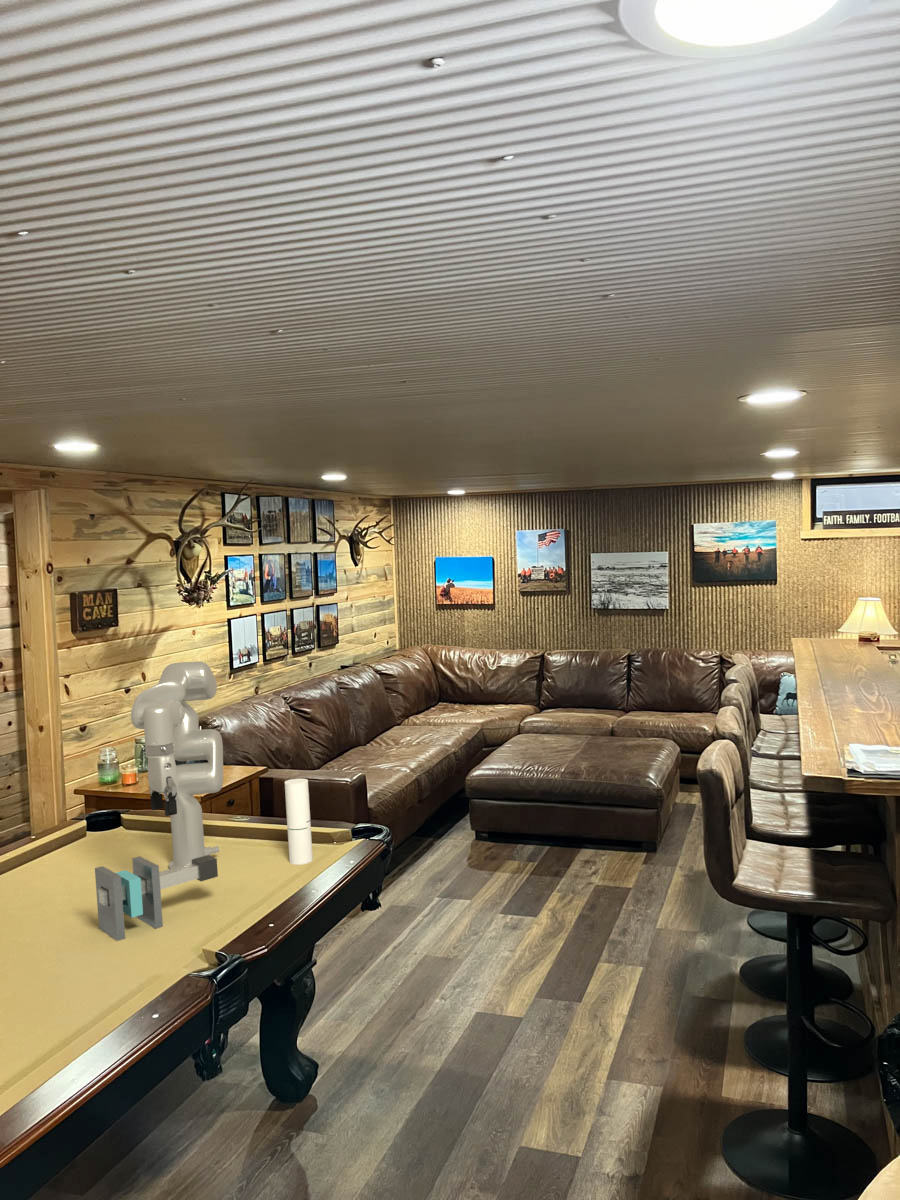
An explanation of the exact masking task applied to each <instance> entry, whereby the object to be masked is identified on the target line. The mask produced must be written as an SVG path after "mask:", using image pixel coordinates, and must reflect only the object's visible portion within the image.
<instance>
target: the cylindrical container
mask: <svg viewBox="0 0 900 1200" xmlns="http://www.w3.org/2000/svg"><path fill="white" fill-rule="evenodd" d="M284 792H285V795H284V796H285V797H284V798H285V810H286V824H287V825H286V826H287V840H288V841H287V842H288V858H289V859H288V860H289V863H290V864H291V865H294V866H295V865H297V866H298V865H300V866H301V865H306V864H309V863H311V862H313V857H314V856H313V844H312V842H313V840H312V828H311V827H312V826H311V825H312V824H311V810H310V792H309V780H308V779H307V778H292V779H288V780H285V781H284Z"/></svg>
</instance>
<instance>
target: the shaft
mask: <svg viewBox="0 0 900 1200" xmlns="http://www.w3.org/2000/svg"><path fill="white" fill-rule="evenodd" d="M218 871H219V870H218V859H217V857H214V856H211V855H210V856H209V855H206V856H202V857H199V858H195V859H192V863H190V864H187V865H183V866H179V867H176V868H172V869H170V868H169V869H165V870H161V871H159V876H160V891H161V890H164V889H167V888H171V887H173V886H177V885H181V884H183V883H184V884H185V883H187V882H190V881H195V880H196V881H200V882H204V881H207V880H210V879H214V878H217V877H219V874H218V873H219V872H218ZM140 878H141V892H142V895H143V894H147V893H148V892H147V880H146V879H144V878H142V877H140ZM121 886H122V900H126V899H127V887H126V886H124V885H122V884H121ZM98 891H99V903H101V904H103V905H104V906H105V905H109V904H110V903H109V890H107V889H105V888H100V889H98Z"/></svg>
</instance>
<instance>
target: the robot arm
mask: <svg viewBox="0 0 900 1200" xmlns="http://www.w3.org/2000/svg"><path fill="white" fill-rule="evenodd" d="M217 684H218V683H217V680H216V677H215V674H214V673H213V671H212V669H211V667H210V666H209V665H208V664H207V663H205V662H204V661H198V660H197V661H186V662H184V661H183V662H182V661H181V662H173V663H170V664H168V665H167V666H165V668H164V669H163V671H162V673H161V675H160V678H159V680H158V682H157V683H156V684H155V685H152V686H151V687H149V688H147V689H145V690H143V691H141V692H140V693H139V694H138V695H137V696H136V698H135V700H134V702H133V704H132V708H131V712H130V720H131V723H132V725H133V727H135V728H136V729H138V730H143V732H144V747H145V757H146V758H147V777H148V778H147V780H148V788H149V795H150V796H149V798H150V809H151V810H152V811H156V810H160V809H161V810H162V809H163V808H164V816H165V817H169V816H170V828H171V845H172V855H173V856H172V857H173V859H172V860H171V861H169V862H168V868H169V869H172V868H176V867H179V866H183V865H187V864H190V863H192V859H195V858H199V857H202V856H206V855H209V856H211V855H213V854H218V853H219V852H220V847H219V846H218V845H217V846H214V847H212V846H207V847H206V846H205V835H204V822H203V821H204V820H203V809H202V805H201V803H200V801H199V800H198V799H197V798H195V796H196V795H204V794H205V795H206V794H214V793H218V792H220V791H221V790H222V788H223V785H224V747H223V738H222V735H221V733H220V731H219V730H217V729H214V728H207V729H205V728H204V729H199V724H200V723H199V715H198V713H197V711H196V710H195V709H194V708H193V707H192V706H191V705H190V704H189V703H187V702H192V701H193V702H194V701H206V700H207V701H208V700H212V699H213V698H214V697H215V696H216V694H217V691H218V690H217V689H218V685H217ZM205 760H206V761H208V762H198V763H184V764H178V765H176V761H178V762H190V761H205ZM163 797H164V801H163Z"/></svg>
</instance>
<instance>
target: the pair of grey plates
mask: <svg viewBox="0 0 900 1200" xmlns="http://www.w3.org/2000/svg"><path fill="white" fill-rule="evenodd" d="M131 862H132V874H134V875H136V876H138V877H142V878H144V879H146V880H147V892H148V893H147V894H143V895H142V906H143V915H139V916H136V917H135V918H137V919H138V920H141V922H144V923H145V924H146V925H149V926H150V927H152V928H153V929H155V930H157V929H160V928H163V927H164V921H163V920H164V919H163V907H162V895H161V894H162V893H161V890H160V876H159V872H160V866H159V865H158V864H156V863H154V862H153V861H150V860H148V859H146V858H144V857H141V856H136V857H132V861H131ZM94 874H95V877H94V878H95V889H96V890H95V891H96V892H95V893H96V903H97V904H96V905H97V915H98V916H97V917H98V918H97V921H98V929H99V930H100V929H101V930H100V931H102V932H103V933H104V934H106V935H108V937H110V938H112V939H114V940H115V941H117V942H119V941H122V940H125V939H126V931H125V930H126V929H125V917H124V915H125V913H123V900H122V886H121V876H120V875H118V874H116V872H115V871H113V870H110V869H109V868H107V867H105V866H102V865H101V866H96V867H94ZM100 888H105V889H107V890H109V903H110V904H109V905H105V906H104V905H103V904H101V903H99V891H98V889H100Z"/></svg>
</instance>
